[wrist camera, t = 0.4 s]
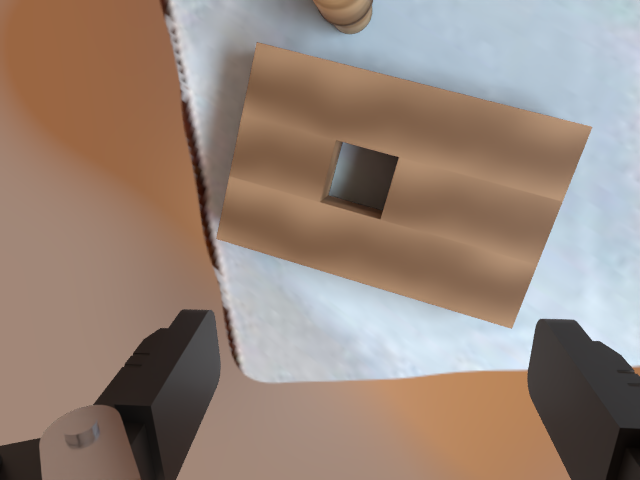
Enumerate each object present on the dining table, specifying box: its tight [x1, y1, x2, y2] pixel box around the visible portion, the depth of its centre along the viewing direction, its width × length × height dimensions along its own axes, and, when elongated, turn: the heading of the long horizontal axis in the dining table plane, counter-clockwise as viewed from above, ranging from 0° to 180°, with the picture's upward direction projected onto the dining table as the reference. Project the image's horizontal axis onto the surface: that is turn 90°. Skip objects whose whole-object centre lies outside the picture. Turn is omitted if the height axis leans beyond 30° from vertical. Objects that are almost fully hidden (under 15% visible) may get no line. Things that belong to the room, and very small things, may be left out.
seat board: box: [216, 42, 592, 329], centre depth 33 cm, size 14×22×4 cm, turn 76°
